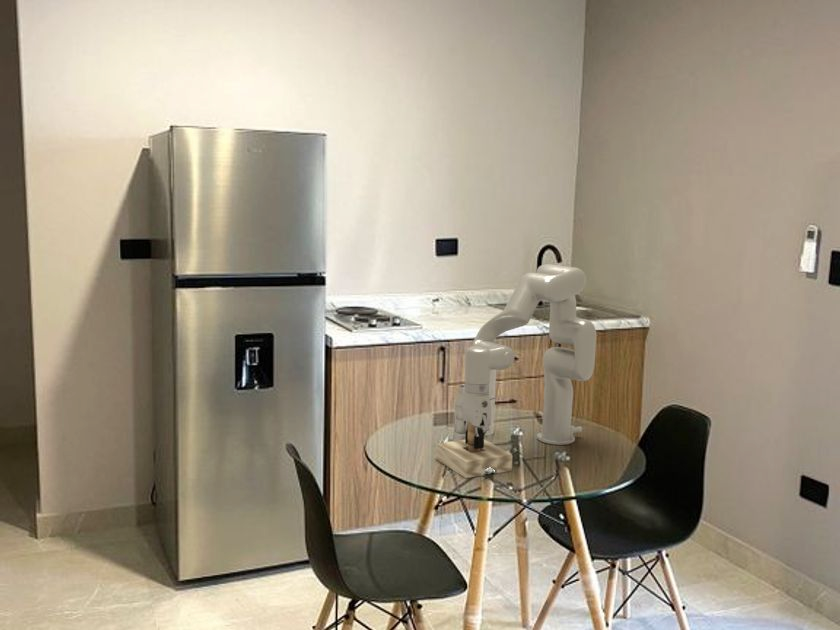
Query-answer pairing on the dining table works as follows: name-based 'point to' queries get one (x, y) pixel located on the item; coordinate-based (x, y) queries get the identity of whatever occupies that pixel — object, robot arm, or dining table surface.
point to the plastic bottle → (459, 417)
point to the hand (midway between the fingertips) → (474, 445)
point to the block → (473, 458)
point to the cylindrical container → (492, 400)
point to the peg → (471, 438)
